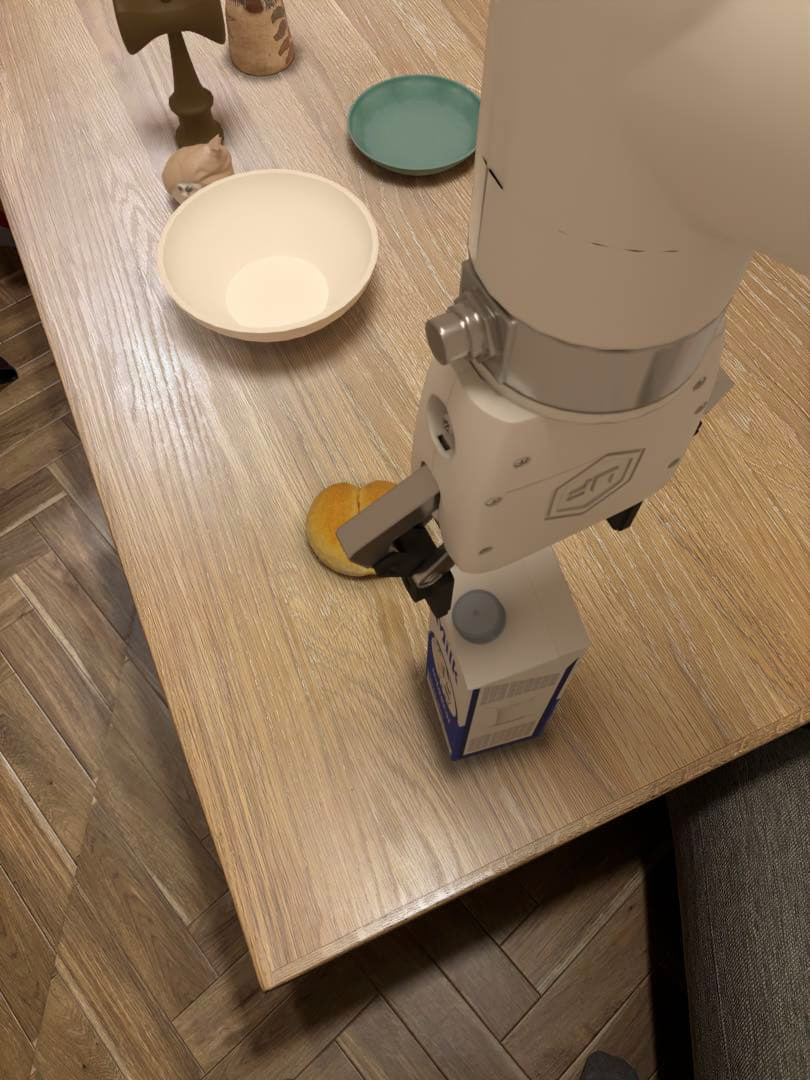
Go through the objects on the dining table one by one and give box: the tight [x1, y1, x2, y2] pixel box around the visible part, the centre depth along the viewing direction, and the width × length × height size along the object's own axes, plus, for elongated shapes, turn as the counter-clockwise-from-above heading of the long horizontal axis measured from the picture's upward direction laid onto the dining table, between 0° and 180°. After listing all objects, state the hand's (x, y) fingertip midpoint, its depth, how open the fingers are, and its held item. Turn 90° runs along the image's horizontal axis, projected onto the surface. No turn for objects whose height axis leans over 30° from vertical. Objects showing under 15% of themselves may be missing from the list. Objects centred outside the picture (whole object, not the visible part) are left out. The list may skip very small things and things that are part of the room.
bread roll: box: [305, 479, 398, 577], centre depth 69 cm, size 8×9×4 cm
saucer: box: [346, 73, 481, 177], centre depth 91 cm, size 15×15×3 cm
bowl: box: [156, 168, 380, 343], centre depth 79 cm, size 20×20×7 cm
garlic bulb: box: [161, 134, 235, 205], centre depth 84 cm, size 7×6×8 cm
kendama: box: [111, 0, 227, 149], centre depth 83 cm, size 6×10×20 cm, turn 103°
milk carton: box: [425, 545, 592, 762], centre depth 55 cm, size 7×7×20 cm
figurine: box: [224, 0, 295, 77], centre depth 93 cm, size 7×7×12 cm
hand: (518, 546), depth 41 cm, fingers open, 9 cm apart
